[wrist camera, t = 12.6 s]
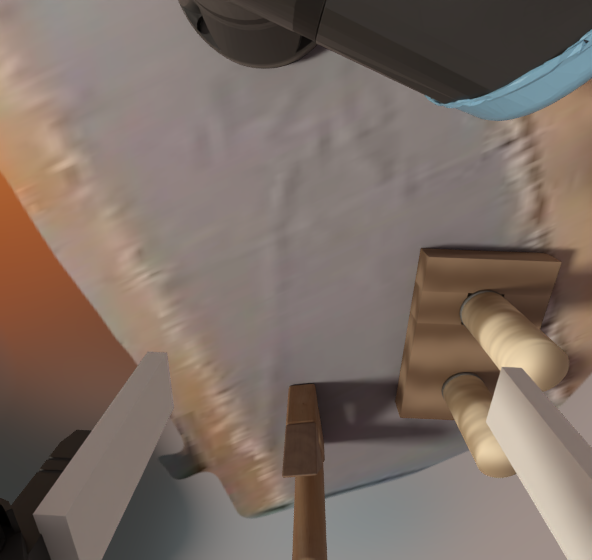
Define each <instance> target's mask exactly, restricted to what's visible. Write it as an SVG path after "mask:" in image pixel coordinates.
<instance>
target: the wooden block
mask: <svg viewBox="0 0 592 560" xmlns="http://www.w3.org/2000/svg"><path fill="white" fill-rule="evenodd" d="M324 460H325V458H324V441H323V434H322V428H321V421H320V415H319V408H318V401H317V395H316V388H315V385H314V384H304V385H294V386H290V387H289V393H288V406H287V419H286V431H285V444H284V458H283V471H282V477H283V478H285V477H295V503H294V530H293V554H292V556H293V557H292V560H327V544H326V520H325V495H324V471H323V462H324Z"/></svg>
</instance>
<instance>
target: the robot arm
mask: <svg viewBox="0 0 592 560" xmlns="http://www.w3.org/2000/svg"><path fill="white" fill-rule="evenodd" d="M178 1H179V3H180V6H181V8H182V10H183V12H184V14H185V15H186V17H187V19H188V20H189V22H190V24H191V25H192V26H193V28H194V29H195V30H196V32H197V33H198V34H199V35H200V36H201V38H202V39H203V40H204V41H205V42H206V43H207V44H209V45H210V46H211V47H212V48H213V49H215V50H216V51H217V52H218V53H220V54H221V55H223V56H224V57H226V58H227V59H229V60H231V61H233V62H235V63H238V64H241V65H244V66H247V67H252V68H261V69H264V68H275V67H280V66H284V65H287V64H290V63H292V62H294V61H296V60H298V59H300V58H301V57H303V56H304V55H306V54H307V53H308V52H310V51H311V50H312V49H313V48H314V47H315V46H316V45H317V44H318V45H321V46H323V47H325V48H327V49H329V50H331V51H333V52H335V53H337V54H340V55H342V56H344V57H346V58H348V59H350V60H352V61H354V62H356V63H359V64H361V65H363V66H365V67H367V68H369V69H371V70H373V71H375V72H378V73H380V74H382V75H384V76H386V77H388V78H390V79H392V80H394V81H397V82H399V83H401V84H403V85H405V86H407V87H409V88H411V89H413V90H416V91H418V92H420V93H422V94H424V95H425V97H426V98H427V99H428V100H430V101H431V102H432V103H434V104H436V105H439V106H444V107H446V108H456V109H459V110H461V111H464V112H466V113H468V114H471V115H473V116H476V117H478V118H481V119H485V120H495V121H502V120H510V119H515V118H519V117H523V116H526V115H529V114H531V113H534V112H536V111H539V110H541V109H543V108H545V107H547V106H549V105H551V104H553V103H555V102H556V101H558V100H560V99H561V98H563V97H565V96H566V95H568V94H570V93H571V92H573V91H574V90H576V89H577V88H579V87H580V86H582V85H583V84H584V83H586V82H587V81H589V80H590V79H591V78H592V0H178ZM173 408H174V404H173V396H172V388H171V380H170V372H169V364H168V356H167V353H165V352H147V354H146V355H145V356H144V358H143V359H142V361H141V362H140V364H139V365H138V366H137V368H136V369H135V371H134V372H133V373H132V375H131V376H130V378H129V379H128V380H127V382H126V383H125V385H124V386H123V388H122V389H121V391H120V392H119V393H118V395H117V396H116V397H115V399H114V401H113V402H112V403H111V404H110V406H109V407H108V409H107V410H106V412H105V413H104V415H103V416H102V417H101V419H100V420H99V421H98V423H97V424H96V426H95V427H94V429H93V430H92V431H89V430H76V431H75V432H73V433H72V434H71V435H70V436H68V437H67V438H66V439H64V440H63V441H62V442H60V444H59V445H58V446H57V447H56V449H55V450H54V451H53V453H52V454H51V455H50V456H49V459H48V460H46V462H45V463H44V464H43V465H42V467H41V468H40V469H39V472H38V473H36V474H35V476H34V477H33V478H32V479H31V481H30V482H29V483H28V485H27V486H26V487H25V489H24V490H23V491H22V492H21V494H20V495H19V496H18V497H17V499H16V500H15V501H14V503H13V504H12V505H10V503H9V501H6V500H4V499H2V498H0V560H101V559H102V557H103V555H104V553H105V551H106V549H107V547H108V545H109V542H110V540H111V538H112V536H113V534H114V532H115V530H116V528H117V526H118V524H119V522H120V520H121V517H122V515H123V513H124V511H125V509H126V507H127V505H128V503H129V500H130V498H131V497H132V494H133V492H134V490H135V488H136V486H137V484H138V482H139V480H140V478H141V475H142V473H143V471H144V469H145V467H146V465H147V463H148V461H149V459H150V457H151V454H152V452H153V450H154V448H155V446H156V444H157V442H158V440H159V438H160V436H161V433H162V431H163V429H164V427H165V425H166V423H167V421H168V419H169V417H170V415H171V413H172V411H173ZM486 423H487V425H488V426H489V428H490V430H491V431H492V433H493V435H494V436H495V438H496V440H497V441H498V443H499V445H500V446H501V448H502V450H503V452H504V453H505V455H506V457H507V458H508V460H509V462H510V463H511V465H512V467H513V468H514V470H515V472H516V473H517V475H518V477H519V478H520V480H521V482H522V484H523V485H524V487H525V489H526V490H527V492H528V494H529V495H530V497H531V499H532V500H533V502H534V504H535V505H536V507H537V509H538V510H539V512H540V514H541V516H542V517H543V519H544V520H545V522H546V524H547V525H548V527H549V529H550V531H551V532H552V534H553V536H554V537H555V539H556V540H557V542H558V544H559V546H560V547H561V549H562V551H563V552H564V554H565V556H566V557H567V559H568V560H592V448H591V447H590V445H589V444H588V443H587V442H586V441H585V440H584V439H583V438H582V436H581V435H580V434H579V433H578V432H577V430H576V429H575V428H574V427H573V426H572V425H571V424H570V422H569V421H568V420H567V419H566V418H565V417H564V416H563V414H562V413H561V412H560V411H559V410H558V409H557V408H556V406H555V405H554V404H553V403H552V402H551V401H550V400H549V398H548V397H547V396H546V395H545V394H544V393H543V392H542V390H541V389H540V388H539V387H538V386H537V385H536V383H535V382H534V381H533V380H532V379H531V378H530V377H529V375H528V374H527V373H526V372H525V371H524V370H523V369H522V368H517V367H502V368H501V371H500V375H499V378H498V382H497V385H496V388H495V392H494V395H493V399H492V402H491V405H490V409H489V412H488V416H487V419H486Z"/></svg>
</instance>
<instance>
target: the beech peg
mask: <svg viewBox="0 0 592 560" xmlns="http://www.w3.org/2000/svg"><path fill="white" fill-rule="evenodd" d="M459 315H460V319H461V321H462V323H463V324H464V325H465V327H466V328H467V329H468V330H469V331H470V332H471V334H472V335H473V336H474V338H475V339H476V340H477V341H478V343H479V344H480V345H481V347H482V348H483V349H484V350H485V352H486V353H487V354H488V356H489V357H490V358H491V360H492V361H493V362H494V363H495V365H496V366H497V367H498V369H499V370H500V371H501V368H502V367H517V368H522V369H523V370H524V371H525V372H526V373H527V374H528V375H529V377H530V378H531V379H532V380H533V381H534V382H535V383H536V385H537V386H538V387H539V388H540V389H541V390H542V392H544V391H547V390H549V389H551V388H553V387H555V386H556V385H557V384H559V383H560V382H561V381H562V380H563V378H564V377H565V376H566V374H567V372H568V369H569V359H568V356H567V354H566V353H565V352H564V351H563V350H562V349H561V348H560V347H559V346H557V345H556V344H555V343H554V342H553V341H552V340H551V339H550V338H549V337H547V336H546V335H545V334H544V333H543V332H542V331H541V330H540V329H538V328H537V327H536V326H535V325H534V324H533V323H532V322H531V321H529V320H528V319H527V318H526V317H525V316H524V315H523V314H522V313H520V312H519V311H518V310H517V309H516V308H515V307H514V306H513V305H511V304H510V303H509V302H508V301H507V300H506V299H505V298H504V297H503V296H502V295H501V294H500V293H498V292H496V291H493V290H480V291H477V292H474V293H468V296H467V298H466V299H465V300H464V301H463V303H462V305H461V307H460V312H459Z"/></svg>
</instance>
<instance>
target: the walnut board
mask: <svg viewBox="0 0 592 560" xmlns="http://www.w3.org/2000/svg"><path fill="white" fill-rule="evenodd" d="M561 263H562V262H561V261H559V260H557V259H555V258H554V257H552V256H550V255H548V254H546V253H533V252H506V251H479V250H452V249H425V248H421V250H420V256H419V262H418V268H417V274H416V280H415V286H414V292H413V298H412V304H411V310H410V316H409V322H408V328H407V334H406V340H405V346H404V352H403V358H402V364H401V370H400V376H399V382H398V388H397V394H396V400H395V403H396V406H397V409H398V412H399V416H400V418H420V419H442V420H455V421H456V424H457V426H458V428H459V430H460V432H461V434H462V436H463V438H464V440H465V442H466V444H467V446H468V448H469V450H470V452H471V454H472V456H473V458H474V460H475V462H476V464H477V466H478V468H479V470H480V471H481V472H482V473H483V474H485V475H487V476H490V477H495V478H504V477H508V476H512V475H515V474H517V473H516V472H515V470H514V468H513V467H512V465H511V463H510V462H509V460H508V458H507V457H506V455H505V453H504V452H503V450H502V448H501V446H500V445H499V443H498V441H497V440H496V438H495V436H494V435H493V433H492V431H491V430H490V428H489V426H488V425H487V423H486V419H487V416H488V412H489V409H490V405H491V402H492V399H493V395H494V392H495V388H496V385H497V382H498V378H499V375H500V370H499V369H498V367H497V366H496V365H495V363H494V362H493V361H492V360H491V358H490V357H489V356H488V354H487V353H486V352H485V350H484V349H483V348H482V347H481V345H480V344H479V343H478V341H477V340H476V339H475V338H474V336H473V335H472V334H471V332H470V331H469V330H468V329H467V328H466V327H465V325H464V324H463V323H462V321H461V319H460V315H459V312H460V307H461V305H462V303H463V301H464V300H465V299H466V298H467V296H468V293H474V292H477V291H480V290H493V291H496V292H498V293H500V294H501V295H502V296H503V297H504V298H505V299H506V300H507V301H508V302H509V303H510V304H511V305H513V306H514V307H515V308H516V309H517V310H518V311H519V312H520V313H522V314H523V315H524V316H525V317H526V318H527V319H528V320H529V321H531V322H532V323H533V324H534V325H535V326H536V327H537V328H538V329H540V327H541V324H542V321H543V318H544V315H545V312H546V309H547V306H548V303H549V300H550V297H551V294H552V291H553V287H554V284H555V281H556V278H557V275H558V272H559V269H560V266H561Z"/></svg>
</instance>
